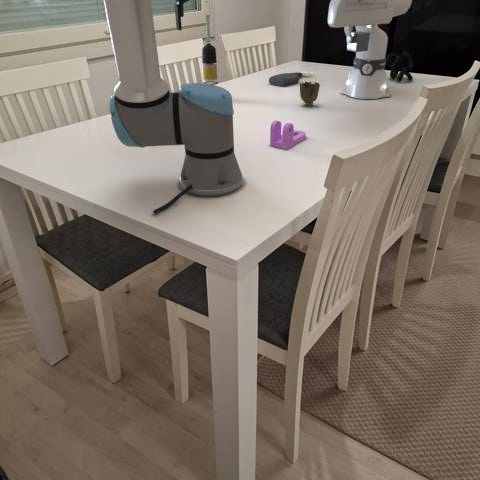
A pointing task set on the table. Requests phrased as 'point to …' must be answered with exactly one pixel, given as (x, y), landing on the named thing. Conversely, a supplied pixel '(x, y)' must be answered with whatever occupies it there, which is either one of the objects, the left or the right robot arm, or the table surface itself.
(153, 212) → the left robot arm
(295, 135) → the bracket
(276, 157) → the table surface
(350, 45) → the block
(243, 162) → the table surface
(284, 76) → the spray bottle
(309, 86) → the cup
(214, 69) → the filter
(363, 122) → the table surface
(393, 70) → the squiggle
